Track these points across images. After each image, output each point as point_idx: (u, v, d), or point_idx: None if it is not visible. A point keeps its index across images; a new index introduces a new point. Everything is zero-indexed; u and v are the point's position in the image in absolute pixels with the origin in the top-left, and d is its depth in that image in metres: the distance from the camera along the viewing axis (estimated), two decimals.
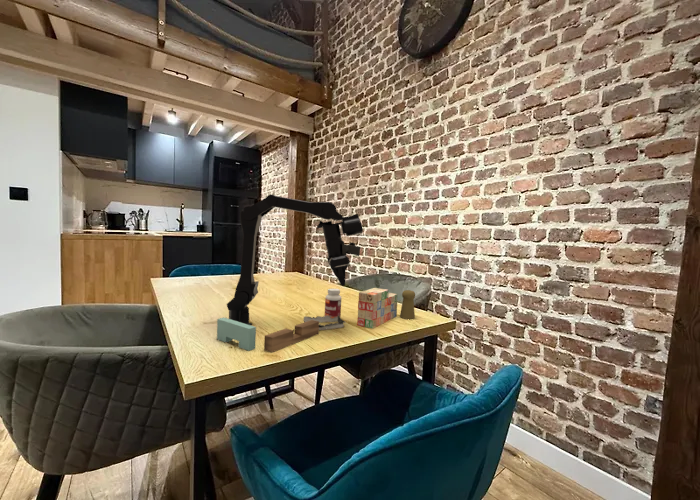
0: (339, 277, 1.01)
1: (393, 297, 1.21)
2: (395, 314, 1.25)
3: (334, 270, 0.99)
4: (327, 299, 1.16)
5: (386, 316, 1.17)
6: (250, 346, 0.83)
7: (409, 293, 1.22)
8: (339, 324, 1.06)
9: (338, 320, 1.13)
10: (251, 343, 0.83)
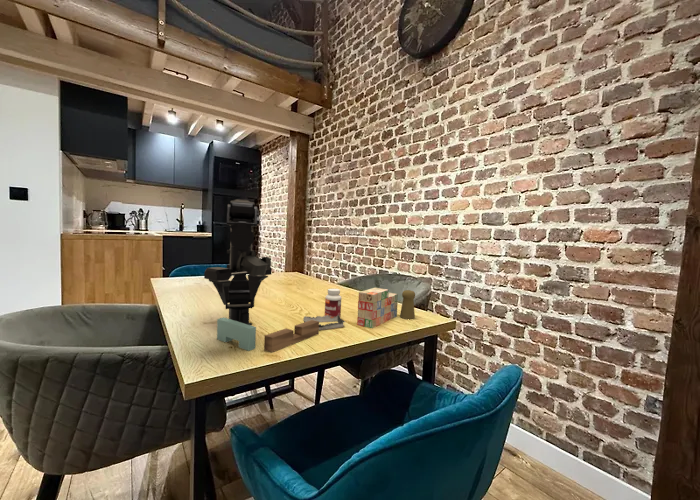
0: (219, 293, 0.82)
1: (393, 297, 1.22)
2: (395, 314, 1.25)
3: (214, 283, 0.82)
4: (327, 299, 1.16)
5: (386, 316, 1.18)
6: (250, 346, 0.83)
7: (409, 293, 1.22)
8: (339, 324, 1.07)
9: (338, 320, 1.13)
10: (251, 343, 0.83)
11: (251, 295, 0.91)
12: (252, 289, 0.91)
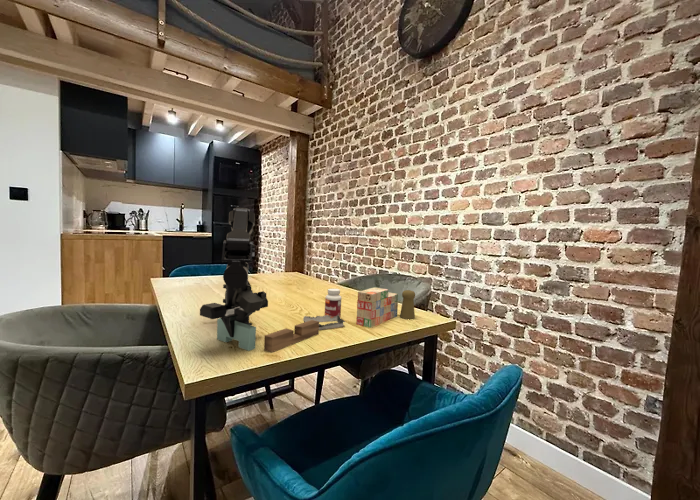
0: (226, 326, 0.86)
1: (393, 297, 1.22)
2: (396, 314, 1.25)
3: (221, 316, 0.85)
4: (327, 299, 1.16)
5: (386, 316, 1.18)
6: (250, 346, 0.83)
7: (409, 293, 1.22)
8: (339, 324, 1.07)
9: (337, 319, 1.13)
10: (251, 343, 0.83)
11: None
12: None
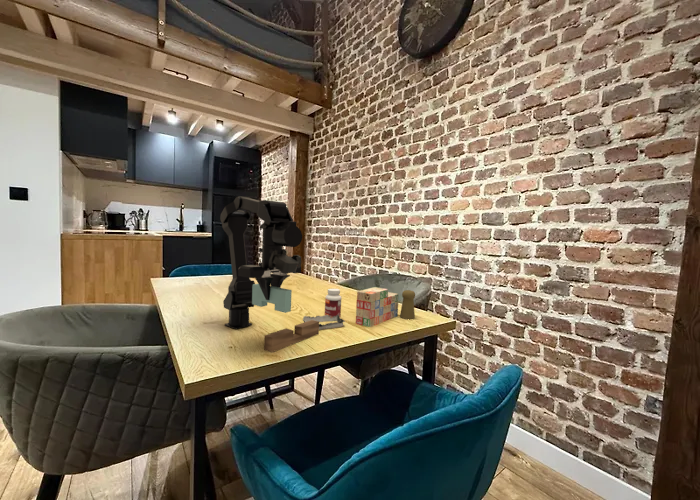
0: (262, 289, 0.87)
1: (393, 297, 1.22)
2: (396, 314, 1.25)
3: (257, 279, 0.87)
4: (327, 299, 1.16)
5: (385, 315, 1.18)
6: (286, 308, 0.84)
7: (409, 293, 1.22)
8: (339, 323, 1.07)
9: (337, 319, 1.14)
10: (287, 305, 0.85)
11: None
12: None
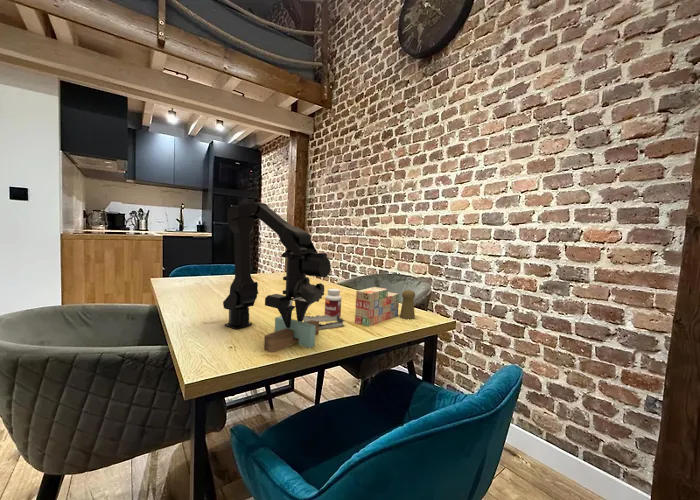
0: (283, 317, 0.89)
1: (393, 296, 1.23)
2: (396, 314, 1.25)
3: None
4: (327, 299, 1.16)
5: (385, 315, 1.19)
6: (311, 344, 0.87)
7: (409, 293, 1.22)
8: (339, 323, 1.08)
9: (337, 319, 1.14)
10: (311, 340, 0.88)
11: (298, 320, 0.93)
12: (300, 314, 0.93)
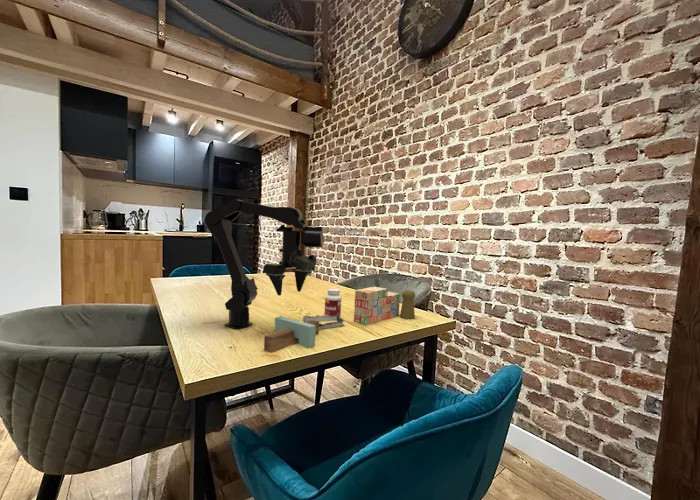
0: (274, 285, 0.97)
1: (394, 296, 1.23)
2: (397, 313, 1.26)
3: (270, 277, 0.97)
4: (327, 299, 1.16)
5: (385, 315, 1.20)
6: (311, 344, 0.87)
7: (409, 293, 1.22)
8: (338, 323, 1.08)
9: (337, 319, 1.14)
10: (311, 340, 0.88)
11: (298, 288, 1.06)
12: (299, 282, 1.06)
